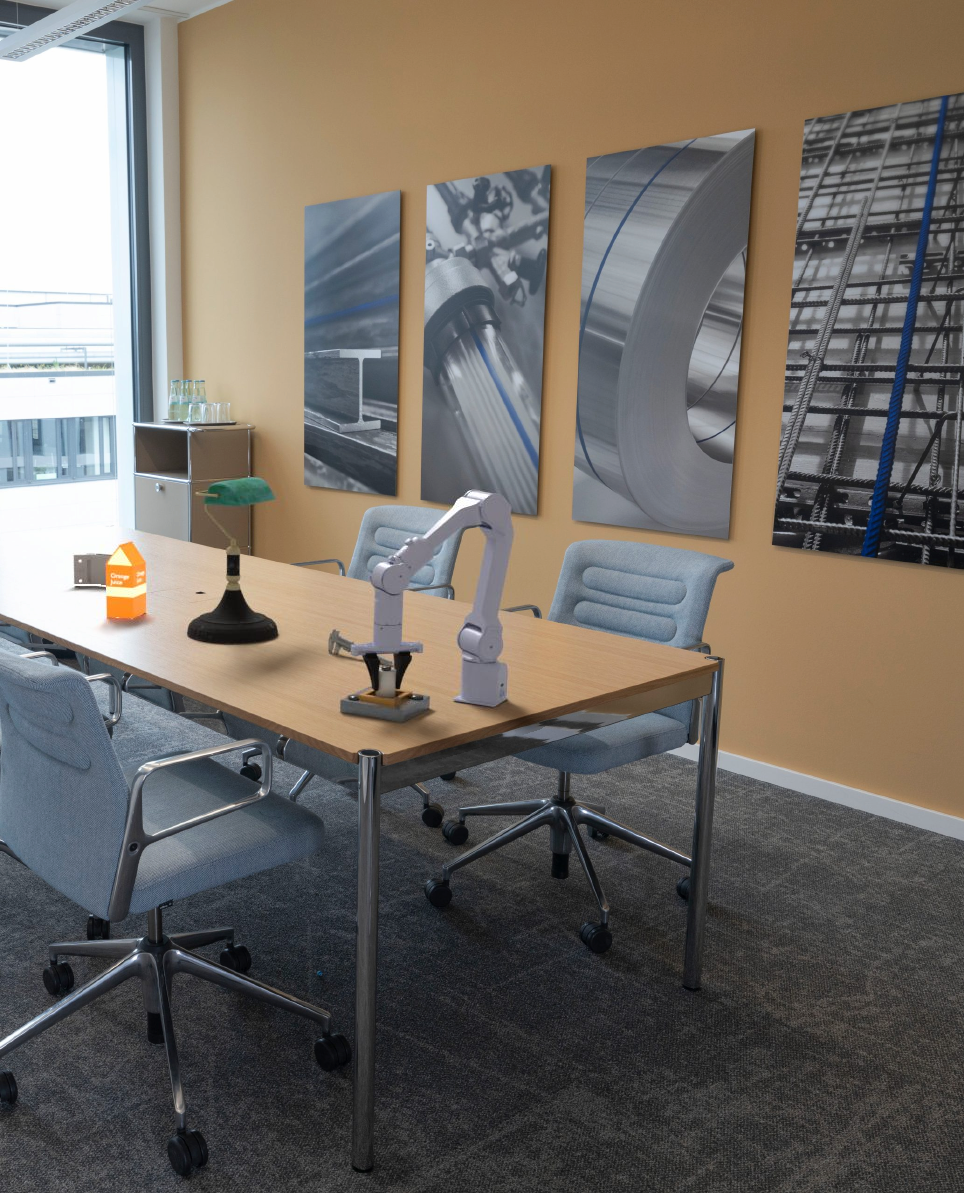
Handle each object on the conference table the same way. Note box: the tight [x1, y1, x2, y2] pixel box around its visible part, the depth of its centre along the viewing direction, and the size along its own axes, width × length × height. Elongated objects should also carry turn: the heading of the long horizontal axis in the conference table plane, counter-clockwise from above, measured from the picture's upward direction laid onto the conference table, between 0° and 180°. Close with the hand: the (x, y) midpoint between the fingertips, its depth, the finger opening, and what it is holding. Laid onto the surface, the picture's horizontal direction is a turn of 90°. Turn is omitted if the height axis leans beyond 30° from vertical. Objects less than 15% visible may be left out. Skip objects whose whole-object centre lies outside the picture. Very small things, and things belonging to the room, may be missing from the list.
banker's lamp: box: [186, 476, 279, 644], centre depth 279 cm, size 26×23×40 cm
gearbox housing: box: [339, 686, 431, 724], centre depth 220 cm, size 14×12×4 cm
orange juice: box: [105, 541, 147, 619], centre depth 297 cm, size 8×9×20 cm
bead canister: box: [376, 665, 396, 699], centre depth 220 cm, size 4×4×7 cm
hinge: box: [73, 552, 113, 585], centre depth 339 cm, size 14×5×10 cm, turn 94°
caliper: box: [327, 628, 394, 668], centre depth 261 cm, size 20×1×6 cm, turn 56°
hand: (386, 688), depth 220 cm, fingers closed on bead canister, 4 cm apart
